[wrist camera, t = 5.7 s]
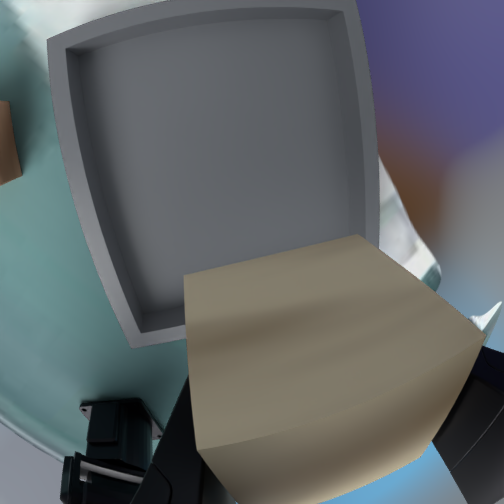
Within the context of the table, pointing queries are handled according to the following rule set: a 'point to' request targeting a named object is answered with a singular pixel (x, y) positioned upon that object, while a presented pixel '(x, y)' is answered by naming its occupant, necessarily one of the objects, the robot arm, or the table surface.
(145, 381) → the table surface
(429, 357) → the birch block
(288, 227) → the charcoal tray
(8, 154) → the terracotta block
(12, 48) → the table surface
